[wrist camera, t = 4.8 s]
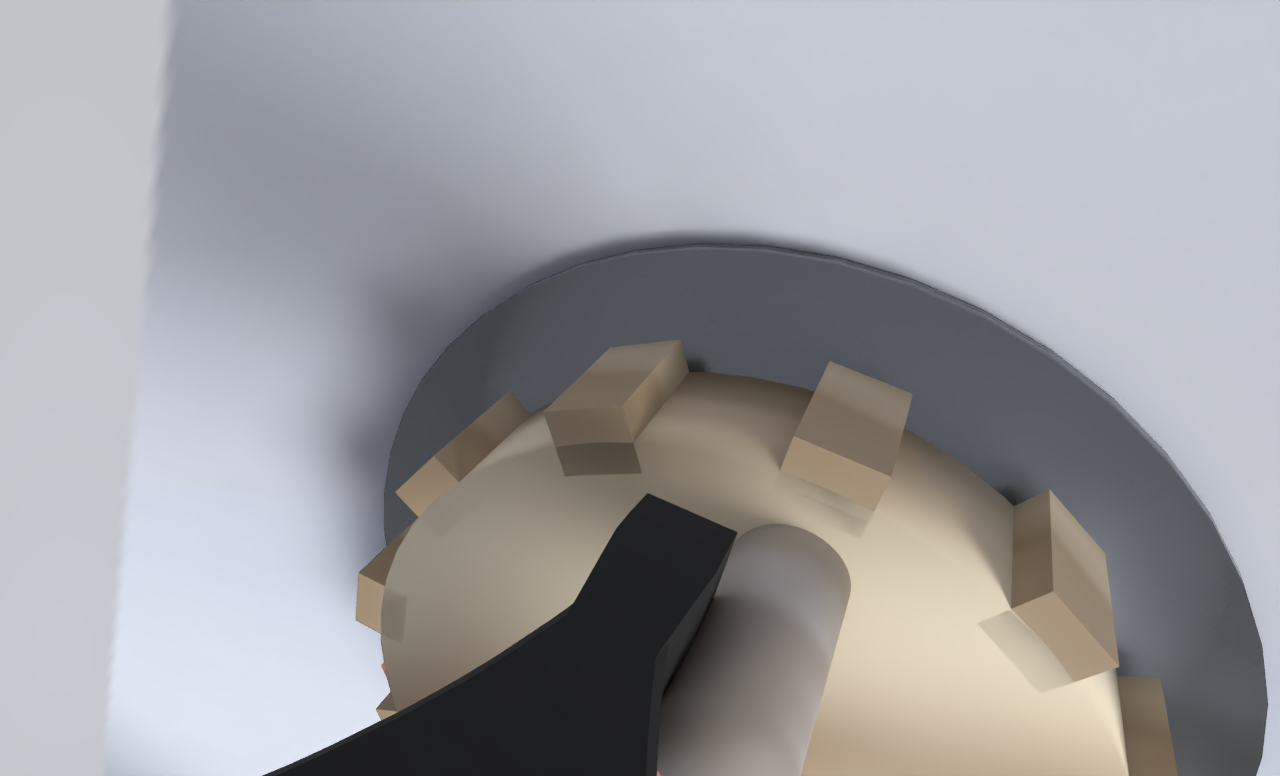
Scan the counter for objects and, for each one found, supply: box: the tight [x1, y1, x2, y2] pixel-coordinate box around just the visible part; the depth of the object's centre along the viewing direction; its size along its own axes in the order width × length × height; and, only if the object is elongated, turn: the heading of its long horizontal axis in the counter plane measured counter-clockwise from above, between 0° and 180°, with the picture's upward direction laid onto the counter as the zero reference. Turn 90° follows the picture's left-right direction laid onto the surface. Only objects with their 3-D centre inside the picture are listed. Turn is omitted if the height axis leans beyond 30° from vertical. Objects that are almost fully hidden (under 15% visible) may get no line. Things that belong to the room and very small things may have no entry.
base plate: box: [381, 244, 1268, 776], centre depth 15 cm, size 16×16×2 cm
